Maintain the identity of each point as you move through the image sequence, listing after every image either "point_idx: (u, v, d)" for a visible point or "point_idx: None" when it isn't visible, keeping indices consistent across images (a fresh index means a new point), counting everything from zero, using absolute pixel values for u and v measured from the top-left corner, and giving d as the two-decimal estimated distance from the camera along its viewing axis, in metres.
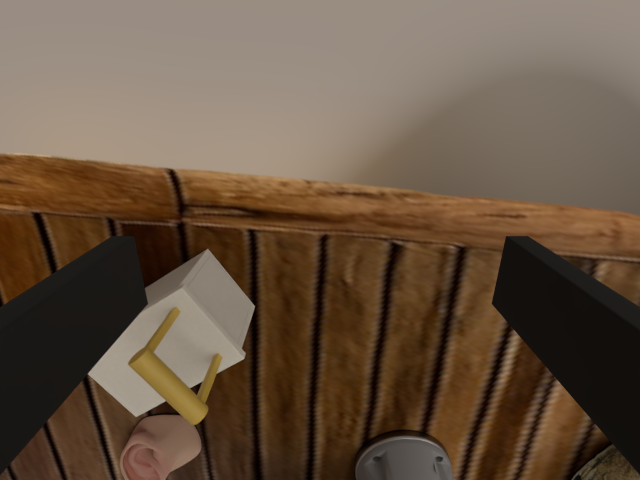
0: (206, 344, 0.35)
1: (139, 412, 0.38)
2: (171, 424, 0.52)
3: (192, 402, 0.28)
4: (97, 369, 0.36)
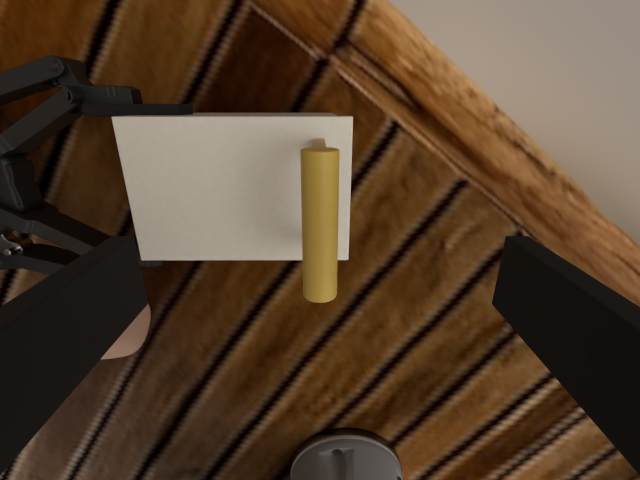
0: None
1: (151, 256, 0.25)
2: None
3: (335, 268, 0.17)
4: (140, 161, 0.22)
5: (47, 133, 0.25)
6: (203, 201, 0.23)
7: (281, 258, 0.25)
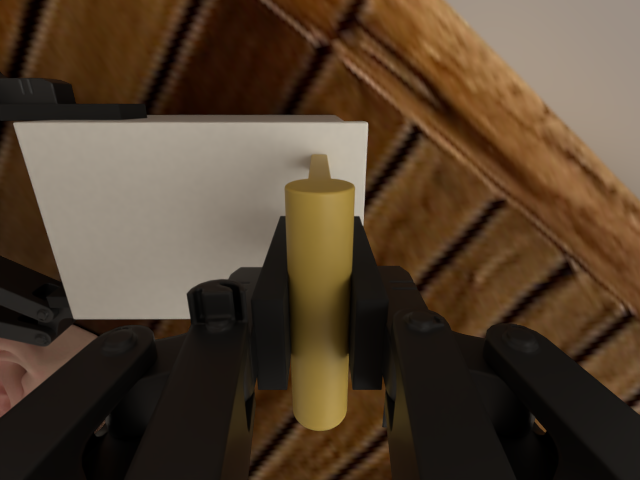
0: None
1: (87, 314, 0.18)
2: (81, 346, 0.30)
3: (345, 375, 0.10)
4: (61, 186, 0.16)
5: None
6: (154, 242, 0.17)
7: None
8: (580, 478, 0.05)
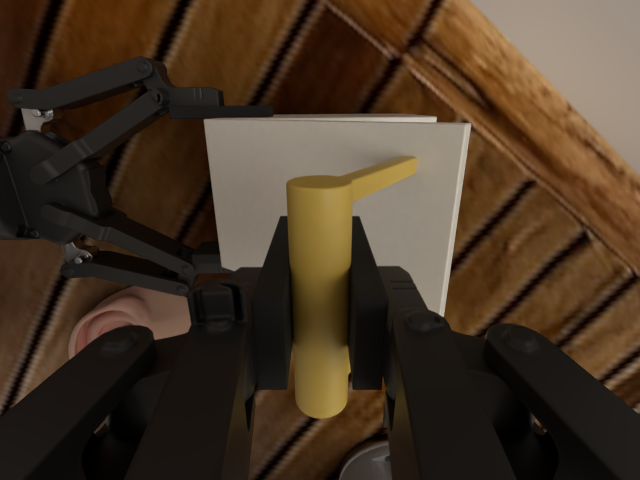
0: (399, 265, 0.16)
1: (229, 265, 0.24)
2: (180, 308, 0.36)
3: (335, 374, 0.11)
4: (223, 166, 0.21)
5: (125, 137, 0.25)
6: (272, 219, 0.20)
7: None
8: (580, 478, 0.05)
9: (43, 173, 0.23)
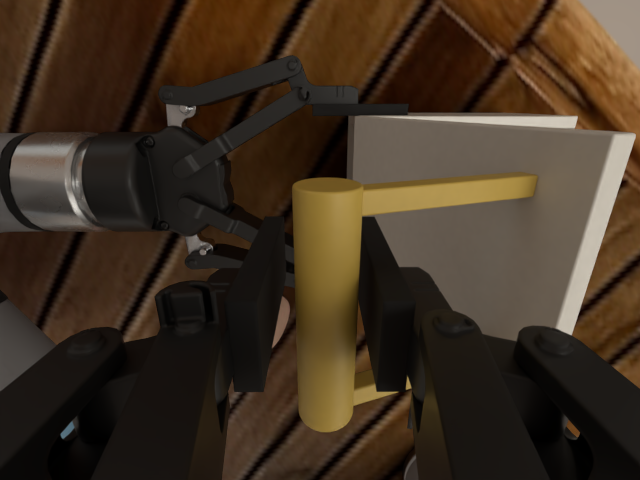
0: (498, 310, 0.13)
1: None
2: None
3: (324, 389, 0.10)
4: (362, 163, 0.22)
5: None
6: (389, 222, 0.19)
7: None
8: None
9: (186, 167, 0.24)
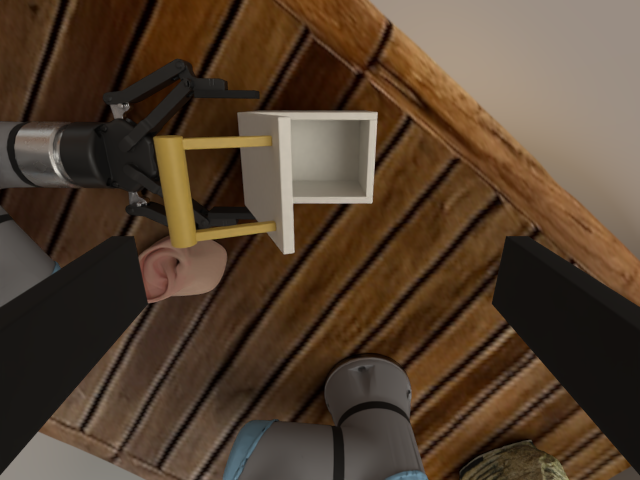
0: (274, 203, 0.27)
1: (246, 203, 0.38)
2: (210, 248, 0.51)
3: (176, 225, 0.24)
4: None
5: (170, 114, 0.39)
6: (251, 173, 0.33)
7: (267, 232, 0.30)
8: None
9: (126, 144, 0.38)
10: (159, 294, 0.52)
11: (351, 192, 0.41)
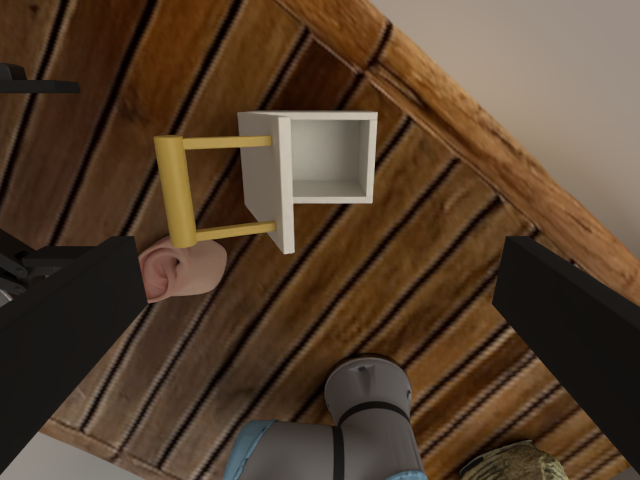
0: (274, 203, 0.27)
1: (246, 203, 0.38)
2: (210, 248, 0.51)
3: (176, 225, 0.24)
4: None
5: None
6: (251, 173, 0.33)
7: (267, 232, 0.30)
8: None
9: None
10: (159, 294, 0.52)
11: (351, 192, 0.41)
